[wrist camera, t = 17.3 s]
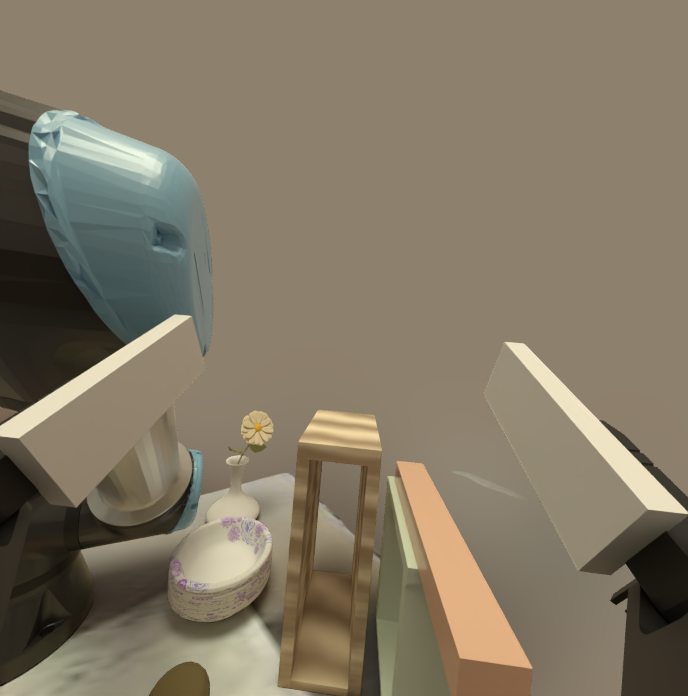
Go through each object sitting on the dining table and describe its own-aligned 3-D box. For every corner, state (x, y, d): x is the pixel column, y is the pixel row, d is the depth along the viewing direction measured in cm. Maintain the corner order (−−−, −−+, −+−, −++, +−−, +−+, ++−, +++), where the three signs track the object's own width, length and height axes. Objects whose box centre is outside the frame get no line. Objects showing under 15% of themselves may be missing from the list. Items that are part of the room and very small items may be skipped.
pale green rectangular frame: (451, 809, 25) (473, 576, 25) (386, 797, 25) (407, 567, 25) (413, 618, 42) (426, 480, 42) (375, 612, 43) (387, 475, 42)
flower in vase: (204, 543, 54) (214, 419, 53) (205, 510, 64) (213, 405, 64) (270, 528, 60) (280, 416, 59) (261, 499, 70) (269, 404, 69)
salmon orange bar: (527, 721, 15) (532, 669, 15) (455, 710, 15) (459, 658, 15) (420, 483, 41) (422, 463, 41) (394, 480, 41) (396, 460, 41)
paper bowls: (138, 632, 37) (142, 576, 37) (206, 550, 52) (209, 509, 52) (242, 656, 36) (247, 597, 35) (282, 564, 51) (285, 522, 50)
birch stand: (359, 699, 32) (382, 450, 32) (277, 686, 33) (298, 441, 32) (359, 581, 48) (374, 415, 48) (304, 574, 49) (318, 409, 48)
